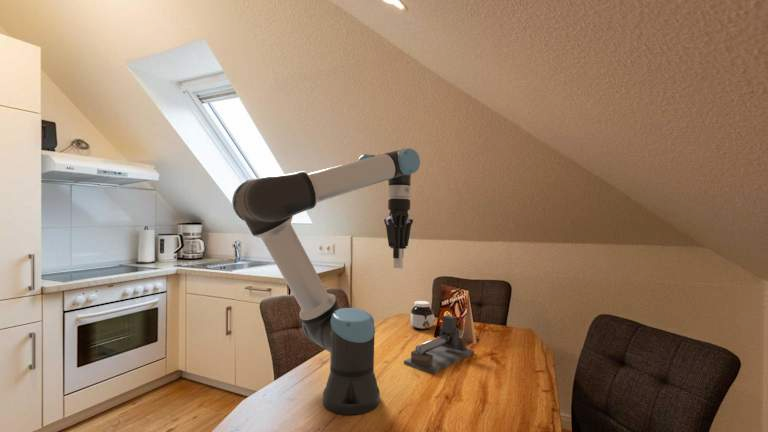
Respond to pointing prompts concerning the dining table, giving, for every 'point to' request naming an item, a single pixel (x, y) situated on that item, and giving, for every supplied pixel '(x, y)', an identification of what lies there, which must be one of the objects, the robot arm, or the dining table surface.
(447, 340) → the pipe
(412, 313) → the spread jar
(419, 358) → the pipe rig
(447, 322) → the dark grey tall block
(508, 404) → the dining table surface
